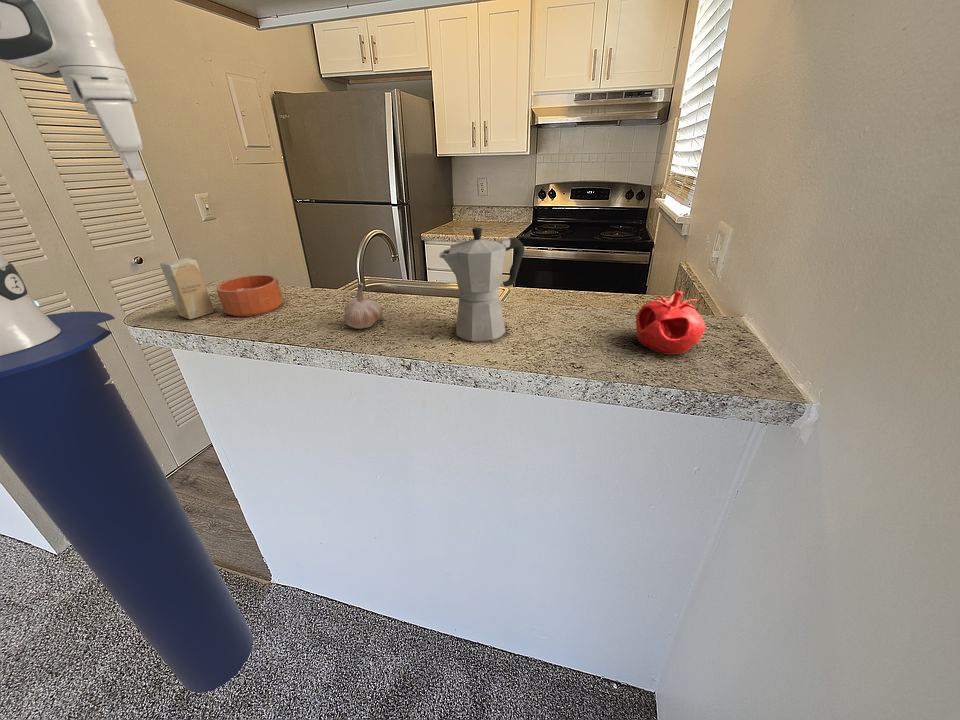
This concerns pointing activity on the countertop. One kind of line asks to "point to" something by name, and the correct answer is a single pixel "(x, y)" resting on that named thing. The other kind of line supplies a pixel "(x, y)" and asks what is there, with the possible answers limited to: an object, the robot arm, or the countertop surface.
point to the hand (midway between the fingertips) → (138, 179)
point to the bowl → (250, 295)
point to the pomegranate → (669, 325)
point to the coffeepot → (481, 284)
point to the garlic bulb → (362, 311)
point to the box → (187, 287)
